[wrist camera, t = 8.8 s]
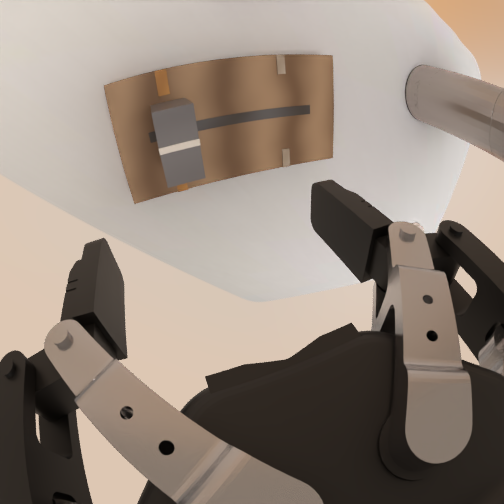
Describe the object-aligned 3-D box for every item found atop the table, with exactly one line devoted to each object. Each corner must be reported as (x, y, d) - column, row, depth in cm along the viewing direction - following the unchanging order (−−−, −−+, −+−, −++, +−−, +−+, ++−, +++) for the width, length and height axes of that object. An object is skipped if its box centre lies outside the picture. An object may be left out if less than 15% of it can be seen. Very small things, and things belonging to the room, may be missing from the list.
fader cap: (184, 97, 21) (193, 103, 18) (195, 159, 25) (206, 178, 21) (150, 105, 21) (151, 113, 17) (163, 167, 25) (167, 188, 21)
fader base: (319, 55, 25) (333, 55, 23) (321, 151, 33) (333, 158, 31) (107, 84, 20) (103, 85, 18) (134, 193, 28) (134, 204, 26)
